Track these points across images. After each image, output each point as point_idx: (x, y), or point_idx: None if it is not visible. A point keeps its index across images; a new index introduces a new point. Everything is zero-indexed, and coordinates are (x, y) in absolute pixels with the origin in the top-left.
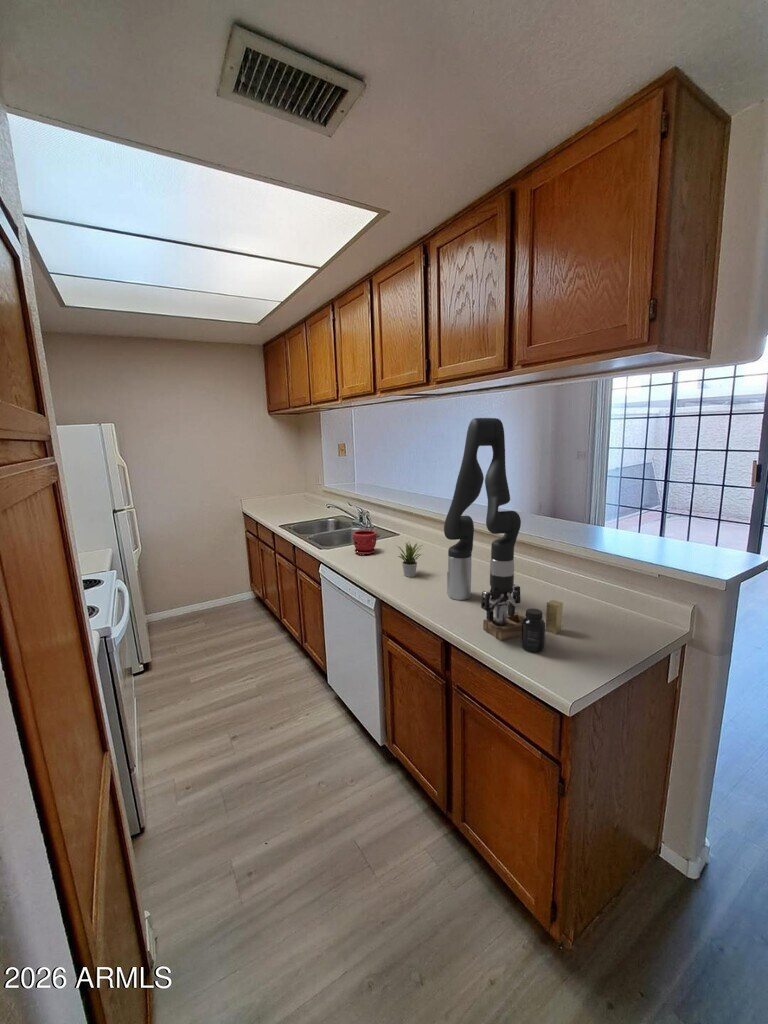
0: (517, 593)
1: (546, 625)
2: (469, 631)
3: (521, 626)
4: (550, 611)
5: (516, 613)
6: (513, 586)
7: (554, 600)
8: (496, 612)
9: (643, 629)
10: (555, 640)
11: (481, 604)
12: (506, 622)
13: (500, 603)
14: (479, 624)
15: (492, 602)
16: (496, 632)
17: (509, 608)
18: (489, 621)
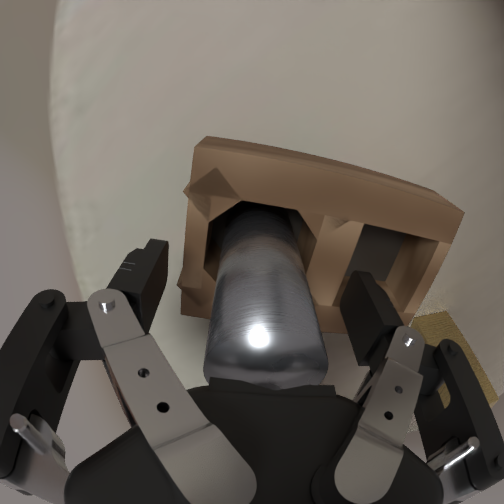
0: (426, 458)
1: (422, 335)
2: (122, 109)
3: (324, 327)
4: (442, 397)
5: (448, 229)
6: (455, 499)
7: (492, 406)
8: (213, 304)
9: (492, 385)
10: (361, 367)
11: (20, 319)
12: (308, 259)
13: (273, 364)
14: (243, 70)
15: (120, 401)
16: (182, 271)
17: (365, 319)
18: (212, 193)
